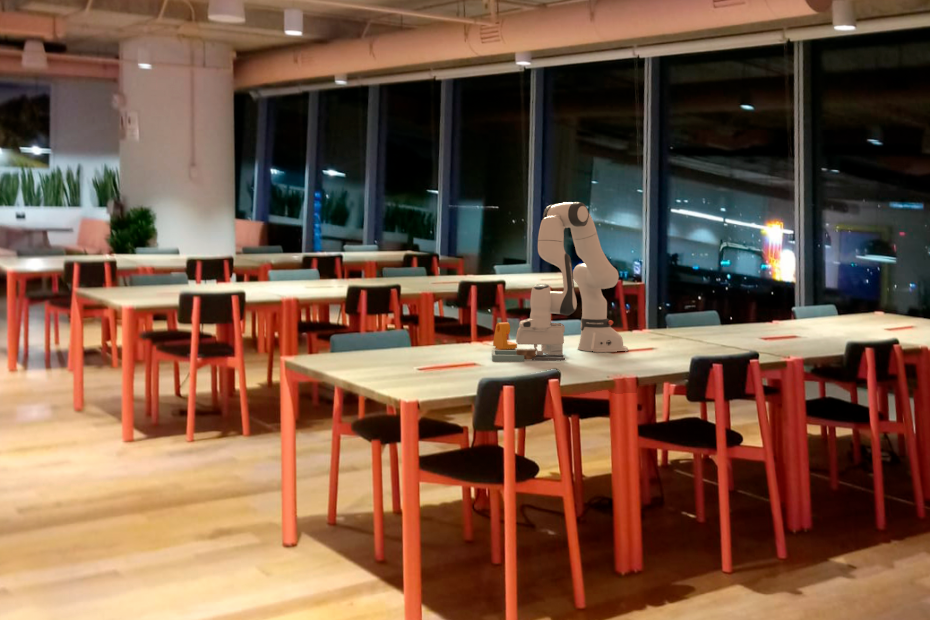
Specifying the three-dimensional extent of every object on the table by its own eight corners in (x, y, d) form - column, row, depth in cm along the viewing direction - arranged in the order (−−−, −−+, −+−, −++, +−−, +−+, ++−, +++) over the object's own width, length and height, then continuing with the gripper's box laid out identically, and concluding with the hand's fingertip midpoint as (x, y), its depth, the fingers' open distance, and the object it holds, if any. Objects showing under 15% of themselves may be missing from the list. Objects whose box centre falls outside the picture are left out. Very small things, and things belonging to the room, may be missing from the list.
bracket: (517, 350, 461) (518, 323, 459) (503, 350, 458) (503, 324, 456) (507, 346, 470) (507, 320, 469) (493, 347, 467) (493, 321, 466)
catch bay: (522, 356, 442) (522, 350, 442) (524, 361, 428) (524, 355, 428) (491, 355, 442) (491, 350, 442) (492, 361, 428) (492, 355, 428)
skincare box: (540, 351, 456) (540, 328, 455) (553, 351, 458) (554, 327, 457) (549, 355, 446) (549, 331, 445) (563, 354, 448) (563, 330, 447)
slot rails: (563, 357, 439) (563, 354, 439) (565, 360, 431) (565, 357, 431) (530, 357, 439) (530, 354, 439) (532, 360, 431) (532, 357, 431)
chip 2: (535, 358, 437) (535, 348, 437) (535, 359, 433) (535, 350, 433) (525, 358, 437) (525, 348, 437) (526, 359, 433) (526, 350, 433)
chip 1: (525, 358, 437) (525, 348, 437) (526, 359, 433) (526, 350, 433) (516, 358, 437) (516, 348, 437) (516, 359, 433) (517, 350, 433)
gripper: (564, 322, 436) (563, 354, 438) (516, 321, 436) (515, 353, 438) (565, 323, 430) (564, 356, 432) (517, 323, 430) (516, 355, 432)
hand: (539, 355), depth 435 cm, fingers closed
